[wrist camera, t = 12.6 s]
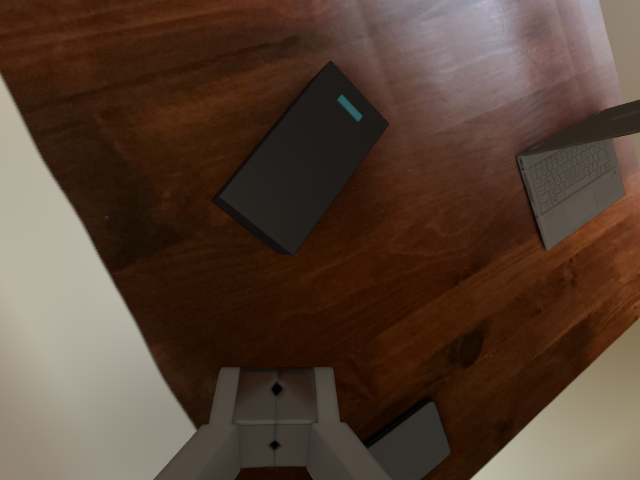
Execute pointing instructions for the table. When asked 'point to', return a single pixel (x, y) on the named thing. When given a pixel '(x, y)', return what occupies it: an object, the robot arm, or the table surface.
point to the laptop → (577, 171)
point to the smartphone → (412, 444)
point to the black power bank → (303, 162)
